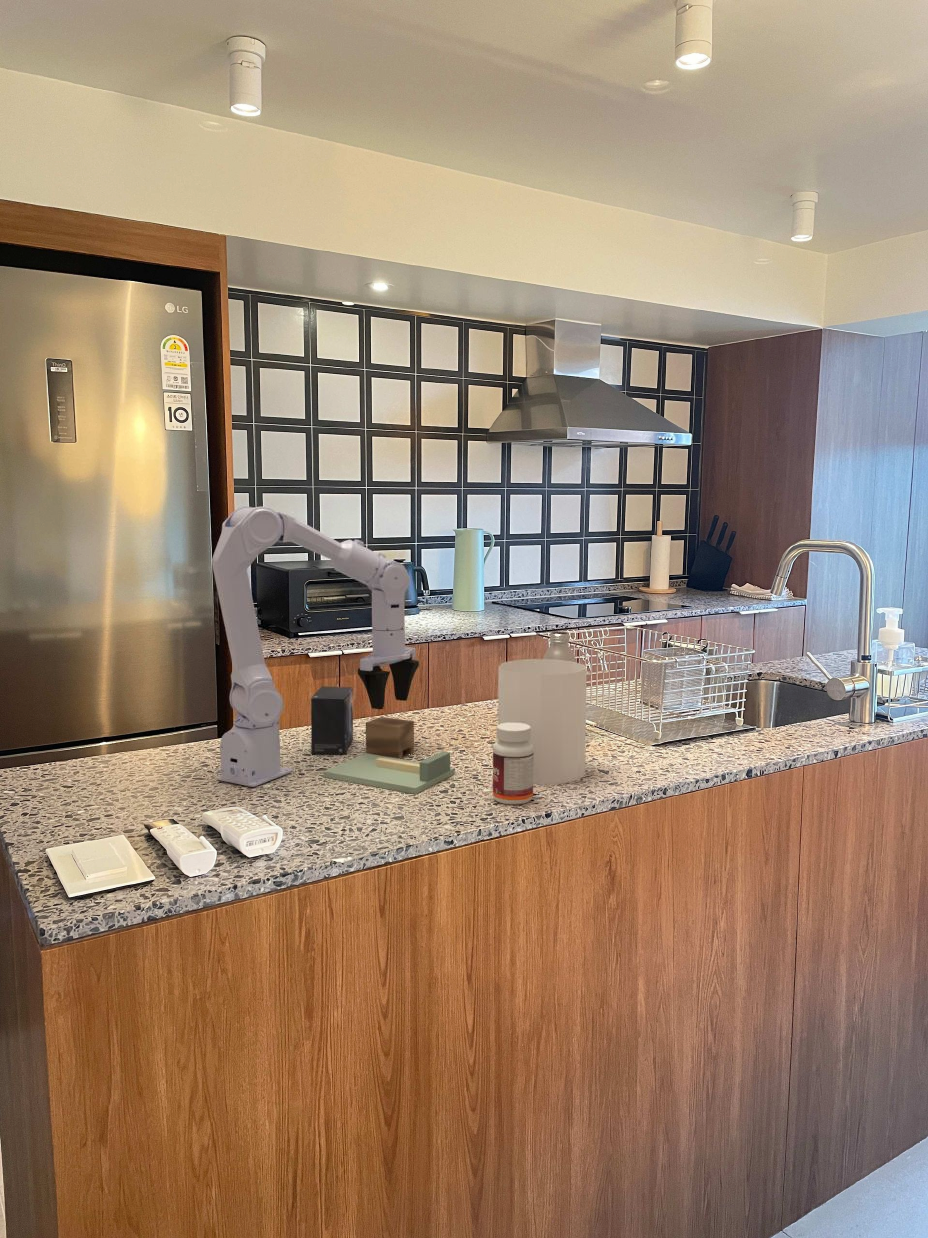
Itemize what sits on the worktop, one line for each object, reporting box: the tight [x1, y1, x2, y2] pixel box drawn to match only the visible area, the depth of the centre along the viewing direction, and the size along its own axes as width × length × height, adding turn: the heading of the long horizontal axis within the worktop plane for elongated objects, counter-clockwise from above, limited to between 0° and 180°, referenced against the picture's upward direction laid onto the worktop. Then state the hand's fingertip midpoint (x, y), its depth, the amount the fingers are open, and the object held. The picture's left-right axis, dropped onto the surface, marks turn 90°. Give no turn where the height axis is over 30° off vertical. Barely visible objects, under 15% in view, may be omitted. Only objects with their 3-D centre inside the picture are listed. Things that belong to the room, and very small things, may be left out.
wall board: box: [322, 751, 456, 795], centre depth 145 cm, size 12×18×4 cm, turn 61°
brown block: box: [365, 716, 415, 759], centre depth 158 cm, size 5×7×6 cm
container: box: [497, 658, 588, 786], centre depth 147 cm, size 14×14×18 cm
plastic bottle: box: [542, 631, 577, 663], centre depth 170 cm, size 6×7×20 cm
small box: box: [310, 685, 354, 755], centre depth 162 cm, size 11×6×10 cm, turn 179°
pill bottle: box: [492, 723, 534, 805], centre depth 133 cm, size 6×6×11 cm
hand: (389, 704), depth 157 cm, fingers open, 7 cm apart
